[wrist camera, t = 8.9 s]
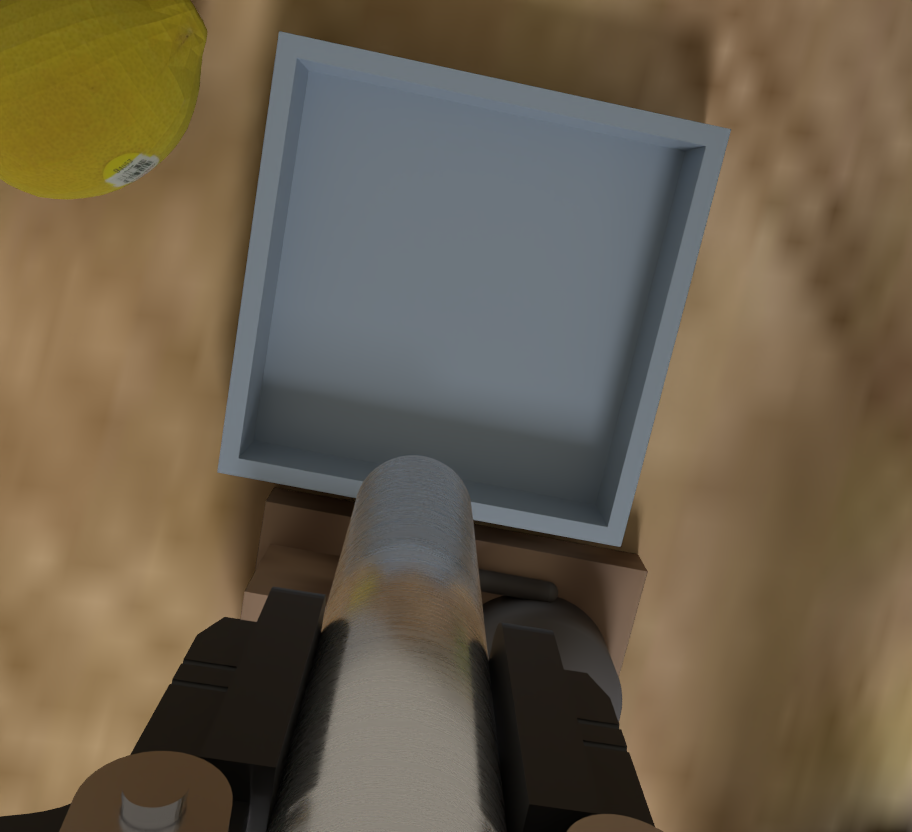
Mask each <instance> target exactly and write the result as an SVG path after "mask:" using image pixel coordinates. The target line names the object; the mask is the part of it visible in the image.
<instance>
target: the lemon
mask: <svg viewBox="0 0 912 832" xmlns="http://www.w3.org/2000/svg"><path fill="white" fill-rule="evenodd" d="M206 38H207V29H206V27H205V25H204V22H203V20H202V19H201V17H200V16H199V14H198V12H197V10H196V8H195V7H194V5H193V4H192V2H191V1H190V0H0V179H1V180H3V181H4V182H6V183H7V184H9V185H11V186H13V187H15V188H17V189H19V190H22V191H24V192H27V193H30V194H32V195H35V196H38V197H45V198H53V199H78V198H87V197H93V196H99V195H104V194H107V193H110V192H113V191H116V190H118V189H121V188H122V187H124V186H126V185H128V184H130V183H132V182H134V181H136V180H137V179H139V178H140V177H142V176H143V175H145V174H147V173H148V172H149V171H151V170H152V169H153V168H154V167H156V166H157V165H158V164H159V163H160V162H161V161H162V160H164V159H165V158H166V157H167V156H168V155H169V154H170V152H171V151H172V150H173V149H174V148H175V147H176V145H177V144H178V143H179V141H180V140H181V138H182V136H183V135H184V133H185V131H186V130H187V128H188V125H189V123H190V120H191V117H192V115H193V112H194V109H195V105H196V101H197V97H198V92H199V87H200V75H201V64H202V54H203V51H204V47H205V43H206Z"/></svg>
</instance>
